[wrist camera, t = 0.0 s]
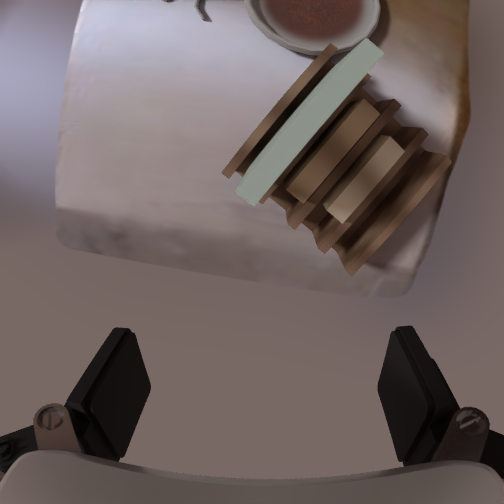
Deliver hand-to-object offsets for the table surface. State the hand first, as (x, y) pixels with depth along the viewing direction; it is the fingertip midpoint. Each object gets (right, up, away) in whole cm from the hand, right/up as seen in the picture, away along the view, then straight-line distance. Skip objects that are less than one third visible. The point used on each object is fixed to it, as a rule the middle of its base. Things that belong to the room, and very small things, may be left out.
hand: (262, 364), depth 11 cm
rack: (+10, +16, +27) cm, 32 cm away
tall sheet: (+4, +19, +25) cm, 31 cm away
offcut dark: (+8, +17, +25) cm, 31 cm away
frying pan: (+2, +36, +20) cm, 41 cm away
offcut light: (+11, +14, +26) cm, 32 cm away
